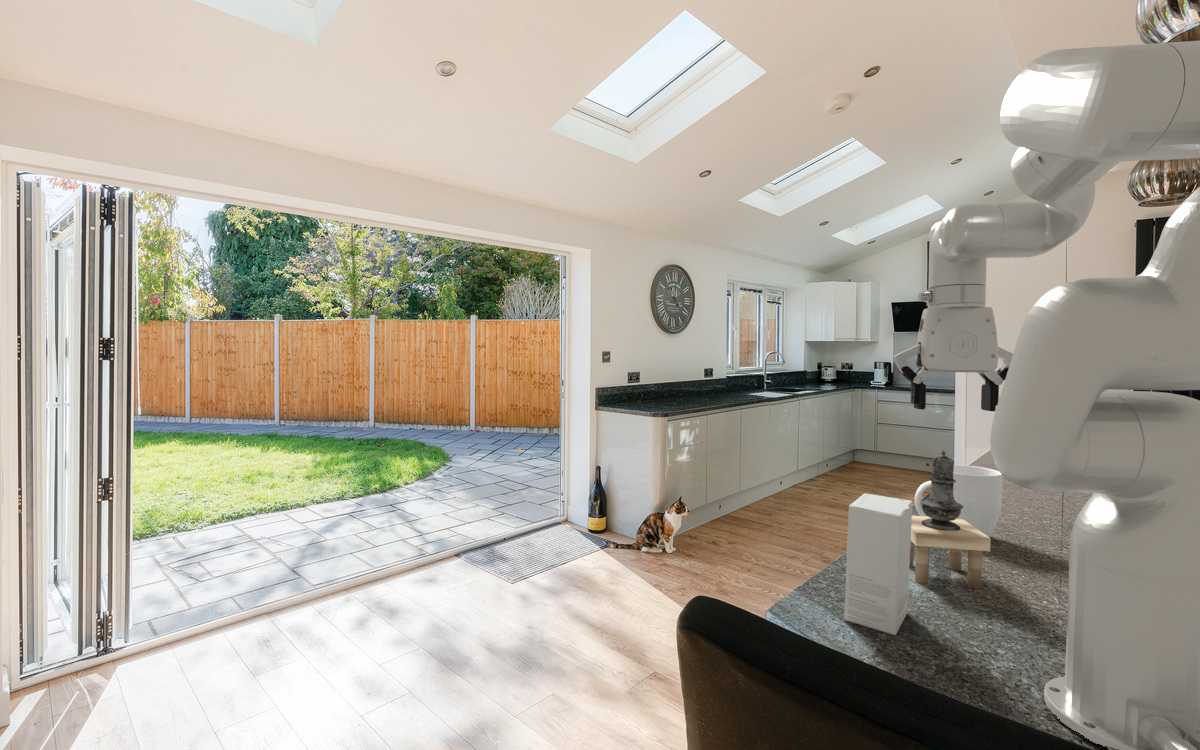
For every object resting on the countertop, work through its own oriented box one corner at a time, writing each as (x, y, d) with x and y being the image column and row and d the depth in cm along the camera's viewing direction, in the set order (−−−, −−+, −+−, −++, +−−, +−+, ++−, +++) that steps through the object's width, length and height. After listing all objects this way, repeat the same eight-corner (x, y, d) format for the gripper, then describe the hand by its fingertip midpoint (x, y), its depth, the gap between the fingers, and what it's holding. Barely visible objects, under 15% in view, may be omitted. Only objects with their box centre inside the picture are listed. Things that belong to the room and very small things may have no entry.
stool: (988, 591, 82) (990, 538, 82) (914, 584, 84) (916, 532, 84) (960, 566, 92) (962, 518, 91) (895, 560, 94) (896, 514, 94)
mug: (927, 542, 103) (929, 473, 103) (902, 525, 114) (904, 462, 114) (1013, 547, 101) (1016, 476, 101) (980, 528, 112) (982, 465, 112)
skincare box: (859, 599, 79) (862, 491, 78) (912, 614, 75) (915, 499, 74) (842, 621, 72) (845, 503, 72) (898, 638, 68) (902, 513, 67)
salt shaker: (969, 533, 84) (972, 454, 84) (927, 529, 85) (930, 452, 85) (953, 521, 90) (956, 448, 89) (913, 518, 91) (916, 446, 91)
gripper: (903, 297, 84) (900, 410, 84) (1033, 296, 80) (1029, 413, 80) (888, 303, 91) (886, 406, 91) (1006, 301, 87) (1003, 409, 88)
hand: (953, 409), depth 86 cm, fingers open, 9 cm apart
